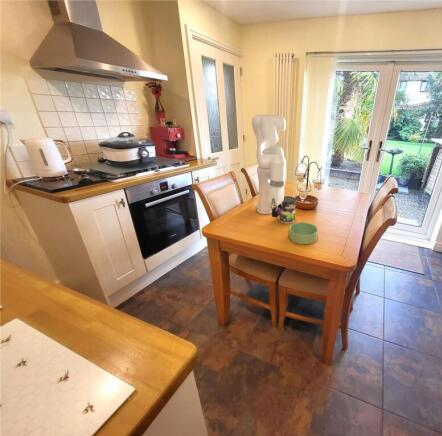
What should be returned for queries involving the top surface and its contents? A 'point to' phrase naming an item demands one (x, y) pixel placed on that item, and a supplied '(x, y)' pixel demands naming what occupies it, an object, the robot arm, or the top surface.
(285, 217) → the coffee can
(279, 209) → the ball
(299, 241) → the bowl
